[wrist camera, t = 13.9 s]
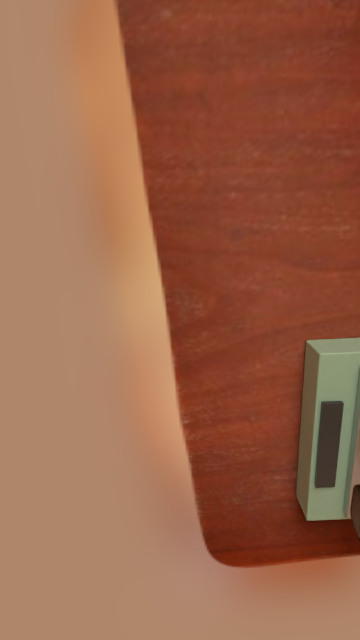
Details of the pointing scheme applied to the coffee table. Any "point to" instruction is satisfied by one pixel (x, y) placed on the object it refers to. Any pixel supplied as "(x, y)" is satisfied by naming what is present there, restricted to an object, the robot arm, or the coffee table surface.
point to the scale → (329, 429)
